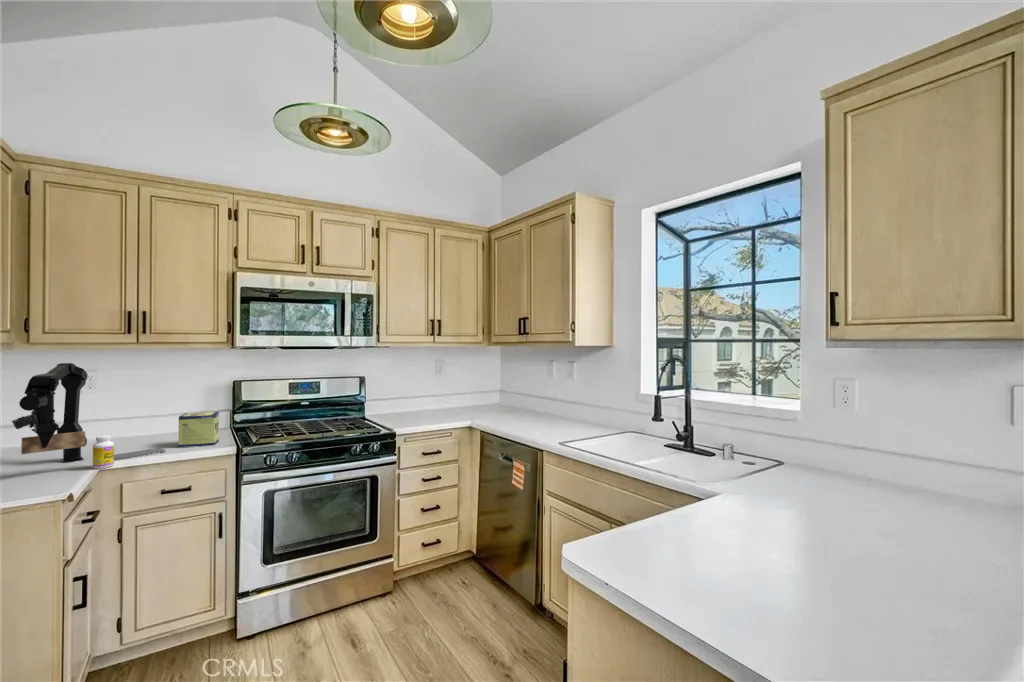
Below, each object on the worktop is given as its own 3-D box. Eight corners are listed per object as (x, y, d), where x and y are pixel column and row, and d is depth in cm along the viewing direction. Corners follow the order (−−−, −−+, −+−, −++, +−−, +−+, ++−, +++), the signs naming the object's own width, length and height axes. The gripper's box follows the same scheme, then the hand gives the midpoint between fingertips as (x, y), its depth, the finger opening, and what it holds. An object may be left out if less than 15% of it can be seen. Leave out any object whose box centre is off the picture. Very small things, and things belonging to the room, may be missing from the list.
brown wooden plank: (22, 454, 179) (22, 438, 179) (21, 453, 181) (21, 437, 181) (85, 446, 193) (85, 431, 193) (83, 445, 195) (84, 431, 195)
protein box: (215, 445, 235) (215, 414, 235) (177, 448, 229) (177, 416, 229) (219, 441, 245) (219, 411, 245) (183, 443, 239) (183, 412, 239)
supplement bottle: (104, 469, 193) (104, 438, 193) (88, 469, 193) (88, 438, 193) (118, 464, 200) (118, 434, 199) (102, 464, 200) (102, 434, 200)
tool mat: (99, 459, 208) (99, 456, 208) (159, 449, 226) (159, 447, 226) (104, 462, 204) (104, 459, 203) (165, 452, 221) (165, 450, 221)
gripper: (10, 407, 184) (10, 447, 184) (17, 411, 173) (17, 454, 172) (50, 404, 193) (50, 442, 193) (59, 408, 181) (58, 449, 181)
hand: (43, 447), depth 185 cm, fingers closed on brown wooden plank, 2 cm apart
